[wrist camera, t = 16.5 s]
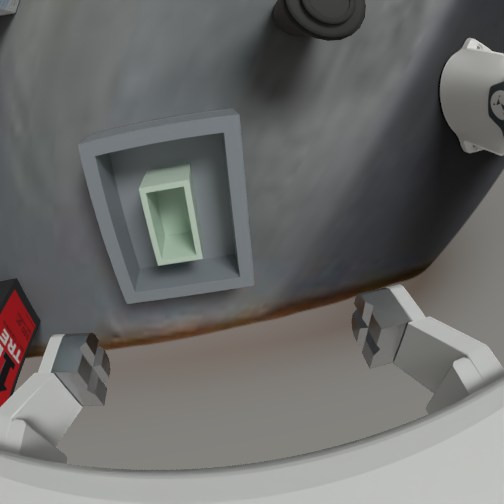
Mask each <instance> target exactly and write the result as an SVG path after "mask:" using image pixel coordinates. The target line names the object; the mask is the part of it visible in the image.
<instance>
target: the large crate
mask: <svg viewBox="0 0 504 504" xmlns="http://www.w3.org/2000/svg"><path fill="white" fill-rule="evenodd" d="M78 149H79V153H80V158H81V162H82V166H83V170H84V174H85V178H86V182H87V186H88V190H89V193H90V197H91V201H92V204H93V208H94V211H95V214H96V218H97V221H98V224H99V227H100V231H101V234H102V237H103V240H104V243H105V246H106V249H107V252H108V255H109V258H110V261H111V264H112V266H113V269H114V272H115V275H116V277H117V280H118V283H119V285H120V288H121V291H122V293H123V296H124V298H125V301H126V303H127V304H131V303H139V302H146V301H154V300H161V299H168V298H175V297H182V296H189V295H196V294H203V293H209V292H216V291H223V290H229V289H235V288H242V287H248V286H254V274H253V263H252V252H251V240H250V229H249V218H248V206H247V195H246V184H245V172H244V161H243V150H242V138H241V127H240V115H239V114H238V113H237V112H236V111H235V110H234V109H233V108H231V109H222V110H214V111H207V112H199V113H192V114H186V115H180V116H174V117H168V118H162V119H157V120H152V121H146V122H142V123H137V124H132V125H127V126H123V127H119V128H114V129H110V130H106V131H102V132H98V133H95V134H93V135H92V136H90V137H88V138H87V139H85V140H84V141H82V142H81V143H79V144H78ZM187 163H190V166H191V172H192V179H193V185H194V192H195V198H196V204H197V210H198V216H199V222H200V228H201V235H202V252H203V259H199V260H192V261H186V262H179V263H173V264H166V265H160V266H158V264H157V260H156V256H155V253H154V249H153V245H152V242H151V238H150V234H149V230H148V226H147V222H146V218H145V214H144V210H143V205H142V201H141V197H140V192H139V187H140V185H141V182H142V180H143V178H144V176H145V174H146V172H147V170H152V169H158V168H163V167H169V166H175V165H181V164H187Z"/></svg>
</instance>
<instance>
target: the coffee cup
mask: <svg viewBox="0 0 504 504" xmlns="http://www.w3.org/2000/svg"><path fill="white" fill-rule="evenodd" d="M365 8H366V6H365V0H278V1H277V2H276V4H275V6H274V8H273V17H274V21H275V23H276V24H277V26H278V27H279V28H280V29H281V30H282V31H283V32H286V33H288V34H290V35H295V36H312V37H314V38H318V39H323V40H327V41H329V40H341V39H343V38H346V37H348V36H351V35H352V34H353V33H354V32H356V31H357V30H358V29H359V28H360V26H361V24H362V22H363V20H364V18H365Z"/></svg>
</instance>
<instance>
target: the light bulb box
mask: <svg viewBox="0 0 504 504" xmlns="http://www.w3.org/2000/svg"><path fill="white" fill-rule="evenodd" d="M18 4H19V0H0V16H1V15H7V14H14V13H16V10H17V7H18Z"/></svg>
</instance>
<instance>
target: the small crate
mask: <svg viewBox="0 0 504 504" xmlns="http://www.w3.org/2000/svg"><path fill="white" fill-rule="evenodd" d="M139 192H140V197H141V201H142V205H143V210H144V214H145V218H146V222H147V226H148V230H149V234H150V238H151V242H152V245H153V249H154V253H155V256H156V260H157V264H158V266H160V265H166V264H173V263H179V262H186V261H192V260H199V259H203V252H202V235H201V228H200V222H199V216H198V210H197V204H196V198H195V192H194V185H193V179H192V172H191V166H190V163H187V164H181V165H175V166H169V167H163V168H158V169H152V170H147V172H146V174H145V176H144V178H143V180H142V182H141V185H140V187H139Z"/></svg>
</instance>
